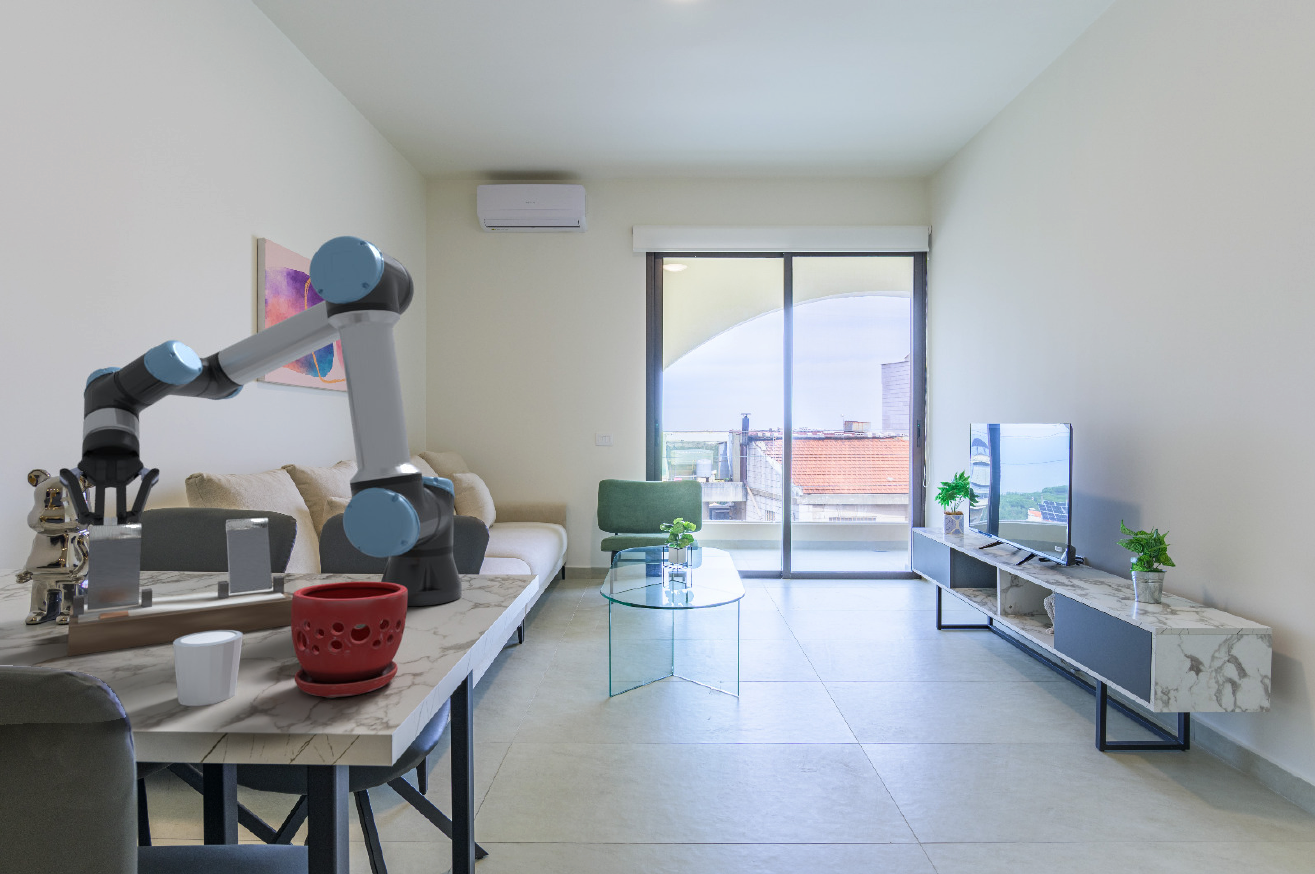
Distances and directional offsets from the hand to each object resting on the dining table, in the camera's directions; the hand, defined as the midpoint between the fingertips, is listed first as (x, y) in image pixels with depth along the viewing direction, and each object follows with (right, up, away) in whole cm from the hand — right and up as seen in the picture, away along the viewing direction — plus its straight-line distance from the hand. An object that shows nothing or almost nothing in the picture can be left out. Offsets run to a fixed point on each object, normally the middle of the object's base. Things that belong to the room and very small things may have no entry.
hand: (109, 556), depth 103 cm
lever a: (+14, -8, +12) cm, 20 cm away
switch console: (+7, -12, +6) cm, 16 cm away
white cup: (+29, -13, -22) cm, 39 cm away
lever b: (0, -8, 0) cm, 8 cm away
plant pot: (+43, -13, -17) cm, 49 cm away
